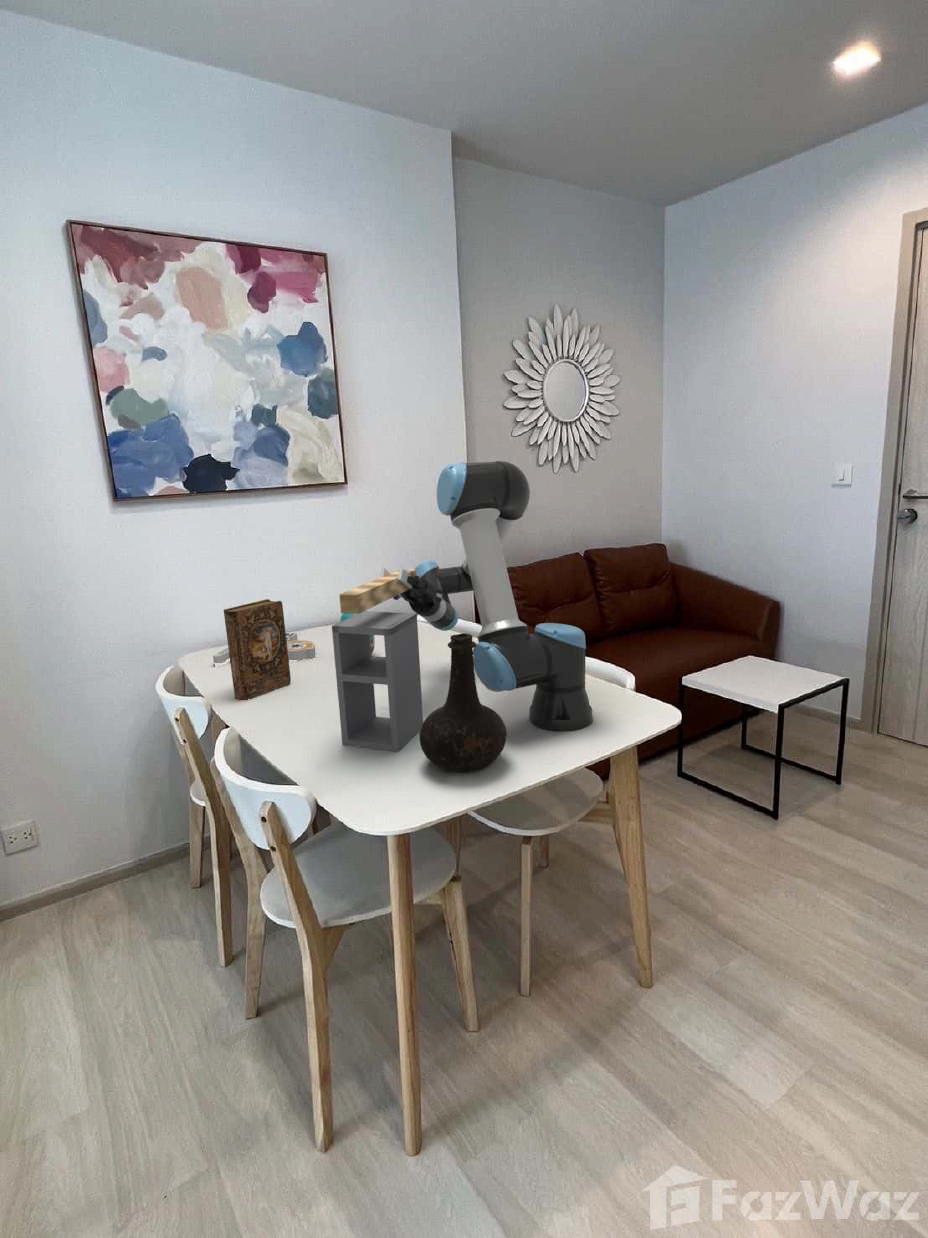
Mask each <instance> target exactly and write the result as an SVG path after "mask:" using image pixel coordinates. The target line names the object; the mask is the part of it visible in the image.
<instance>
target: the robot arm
mask: <svg viewBox="0 0 928 1238" xmlns="http://www.w3.org/2000/svg"><path fill="white" fill-rule="evenodd" d="M436 485H437V486H436V501H437V502H436V503H437V507H438V510H439V511H440V513H441V514H442V515H444V516H447V517H448V516H450V521H451V525H452V527H455V528H456V529H457V530H459V532H460V535H461V541H462V547H463V549H464V553H465V554H464V555H465V557H464V560H463V562H462V564H461V565H459V566H453V567H451V566H450V567H443V568H440V567H439V564H437V562H435V561H432V560H427V561H422V562H420V563H419V564H417V565H416V566H415V567H414V569H413V570H416V576H415V577H412V576H411V575H410V574H408V573H407V572H406V571H405V570H406V569H405V568H399V569H398V571H399V576H398V580H399V581H400V582H402V583H403V584H404V585H405V586H407V587H408V588H410V589H409V590H407V591H405V592H403V593H401V594H399V595H397V596H395V597H393V598H392V600H395V601H398V600H400V599H401V598H402V599H403V600H404V601H405V602H408V603H409V607H410V608H411V610H412V611H413V612H414V613H415V614H417V616H420V617H422V618H423V619H424V620H425V621H427V622H428V623H429V624H430V625H431V626H432V627H433V628H435V629H438V630H439V631H442V632H444V631H445V632H446V631H447V632H448V631H450V630H453V628H454V627H455V626H456V625H457V623H458V620H459V613H458V611H457V610H456V608H455V607H454V606H452V603H451V600H450V597H449V595H452V594H458V593H469V592H473V594H474V597H475V601H476V602H475V603H476V607H477V611H478V614H479V619H480V624H481V630H480V632H479V633H478V634H477V641H478V642H477V643H476V644H477V645H476V647H474V648H473V662H474V672H475V673H476V675H477V677H478V679H479V681H480V682H481V683H482V685H484V686H485V688H486V689H488V690H490V691H491V692H495V693H498V692H506V691H507V692H510V691H514V690H516V689H520V688H525V687H529V686H530V687H531V686H534V685H535V690H534V694H533V697H532V701H531V705H530V707H529V710H528V711H529V713H528V714H529V717H528V718H529V721H530V723H531V724H533V725H534V726H536V727H538V728H541V729H546V730H549V731H558V730H559V732H560V731H561V732H562V731H563V730H566V732H567V730H568V731H575V730H576V731H577V730H579V729H582V728H585V726H586V727H588V726H589V725H591V724H592V722H593V717H594V716H593V709H592V706H591V704H590V699H589V696H588V693H587V690H586V649H587V646H586V644H587V643H586V634H585V632H584V631H583V630H582V629H581V628H579V627H577V626H573V625H569V624H565V623H564V624H563V623H557V622H555V623H554V622H544V623H542V622H541V623H539V624H536V626H535V628H534V632H535V633H530V632H529V629H528V625H527V624H526V623H524V622H523V621H521V620H520V619H519V614H518V611H517V606H516V604H515V598H514V594H513V590H512V585H511V581H510V578H509V572H508V569H507V564H506V561H505V556H504V552H503V548H502V547H503V544H504V543H505V541H506V539H507V537H508V535H509V533H510V531H511V529H512V527H513V526H514V524H515V521H519V520H520V519H521V518H522V517H523V516H524V514H525V512H526V510H527V508H528V505H529V501H530V498H531V496H530V494H531V490H530V485H529V481H528V478H527V476H526V475H525V473H524V471H522V470H521V469H520V468H519V467H518V466H517V465H515V464H514V463H511V462H509V461H504V460H497V461H482V462H478V461H477V462H460V463H459V462H458V463H450V464H448V465H446V466H444V468H443V469H442V470H441V472H440V474H439V477H438V482H437V484H436ZM404 569H405V570H404ZM391 573H392V572H389V570H387V569H386V568H384V567H381V569H380V575H379V578H381V577H384V576H386V575H389V574H391ZM412 587H413V588H412ZM587 725H588V726H587ZM563 732H564V731H563Z"/></svg>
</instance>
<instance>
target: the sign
mask: <svg viewBox="0 0 928 1238" xmlns="http://www.w3.org/2000/svg"><path fill="white" fill-rule="evenodd" d="M285 632H286V641H287V649H288V658H289V660H303V659H308V658H309V659H312V658H315V659H316V656H315V654H316V646H315V645H316V644H315V643H314V641H312V640H308V639H307V640H306V639H305V640H304V639H302V640H300V639H298V633H297V632H287V631H285ZM212 657H213V658H212V659H213V664H214V663H223V662H225V661H226V660H227V659H229V658H230V656H229V648H228V647H226V648H224V649H222V650H221V651H218V652H216V653H215V654H213V655H212ZM309 659H308V660H309ZM312 660H313V659H312ZM303 661H304V660H303Z"/></svg>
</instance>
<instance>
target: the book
mask: <svg viewBox="0 0 928 1238" xmlns="http://www.w3.org/2000/svg"><path fill="white" fill-rule="evenodd" d="M284 614H285V613H284V607H283V602H282V600H277V601H272V600H270V599H269V598H267V599H262V600H259V601H255V602H250V603H246V604H241V605H237V606H233V607H229V608H225V609H223V616H224V623H225V630H226V631H225V632H226V640H227V648H229V656H230V662H229V663H230V669H231V677H232V678H231V679H232V686H233V687H232V688H233V692H234V693H233V694H234V699H235V700H236V699H239V700H248V699H250V700H253V699H255V698H258V697H261V696H263V695H265V694H268V692H269V693H270V692H273V690H274V691H276V690H275V689H277V690H279V689H282V688H283V687H286V686H288V685H290V684H291V677H292V676H291V667H290V662H289V658H288V649H287V641H286V632H287V631H286V626H285V624H286V623H285V615H284ZM262 694H263V695H262ZM260 695H261V696H260ZM257 696H258V697H257ZM252 698H253V699H252ZM239 700H238V701H239ZM248 701H249V700H248Z"/></svg>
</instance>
